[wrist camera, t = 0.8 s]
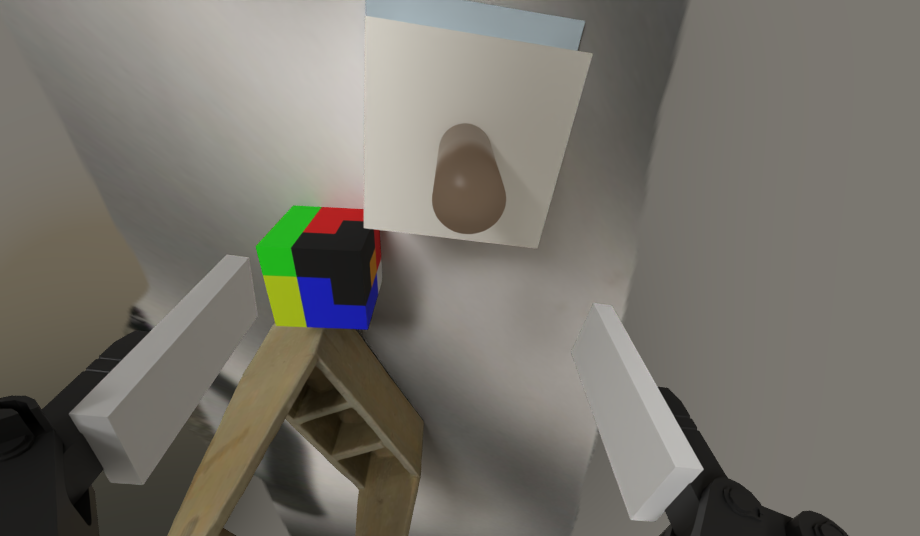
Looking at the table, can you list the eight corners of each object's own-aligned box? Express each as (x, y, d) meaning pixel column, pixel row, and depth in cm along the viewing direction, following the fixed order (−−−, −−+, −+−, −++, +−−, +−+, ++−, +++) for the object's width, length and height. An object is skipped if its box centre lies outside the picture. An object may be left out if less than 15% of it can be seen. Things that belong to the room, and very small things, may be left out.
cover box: (391, 19, 35) (316, 7, 16) (552, 46, 36) (661, 65, 17) (385, 179, 43) (331, 298, 24) (517, 196, 44) (565, 322, 25)
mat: (366, -17, 34) (365, -17, 33) (584, 21, 35) (585, 21, 35) (364, 195, 44) (364, 197, 44) (532, 216, 46) (532, 218, 45)
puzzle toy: (382, 279, 50) (367, 329, 42) (306, 276, 50) (276, 326, 42) (378, 209, 45) (360, 251, 37) (293, 205, 45) (255, 246, 36)
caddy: (426, 422, 67) (408, 664, 41) (372, 436, 69) (324, 675, 43) (336, 299, 52) (224, 555, 27) (272, 322, 54) (111, 580, 29)
